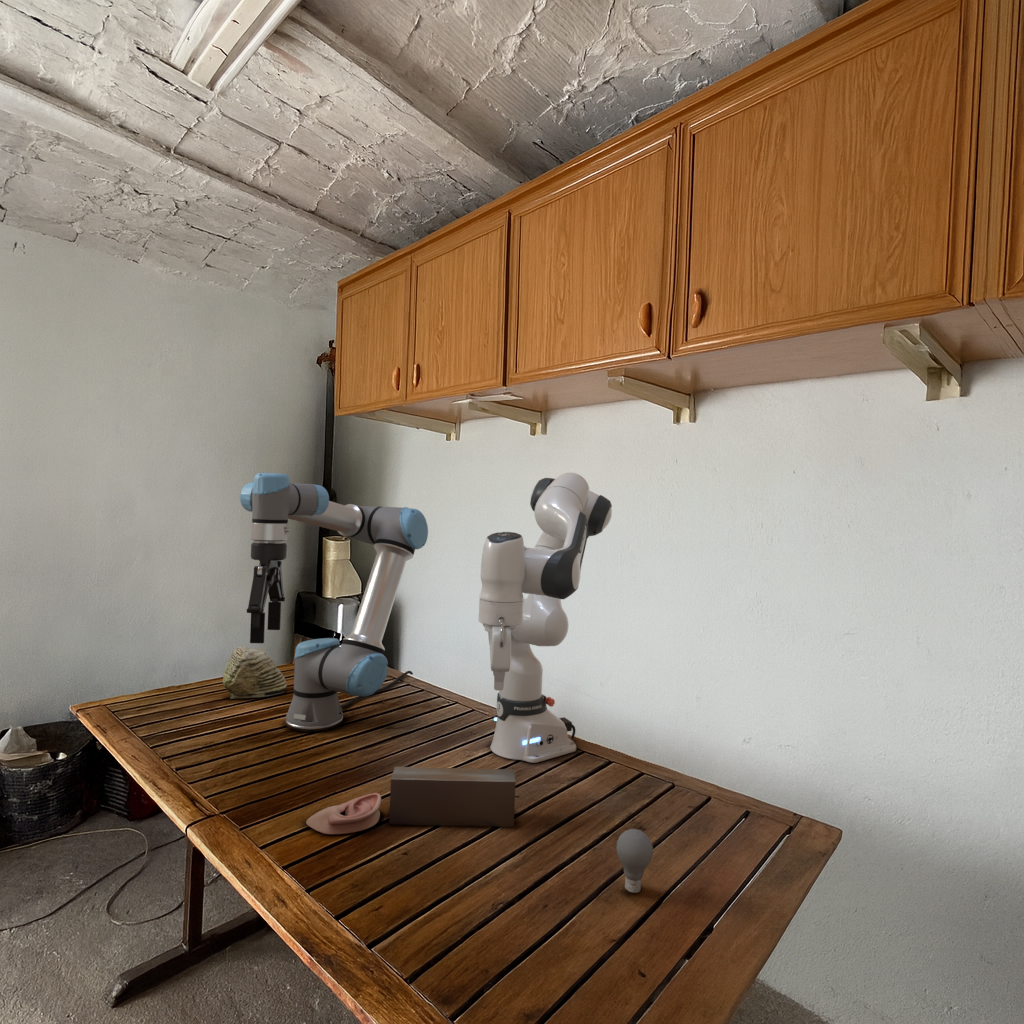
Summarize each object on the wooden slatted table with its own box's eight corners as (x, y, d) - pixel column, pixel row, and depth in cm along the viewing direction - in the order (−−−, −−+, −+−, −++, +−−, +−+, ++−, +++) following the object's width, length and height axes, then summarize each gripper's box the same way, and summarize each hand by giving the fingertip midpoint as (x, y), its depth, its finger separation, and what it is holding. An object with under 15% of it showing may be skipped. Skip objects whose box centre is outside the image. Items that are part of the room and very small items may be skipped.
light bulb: (610, 879, 108) (613, 822, 108) (644, 879, 109) (647, 822, 109) (619, 902, 102) (622, 840, 102) (655, 901, 103) (658, 840, 103)
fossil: (218, 695, 195) (220, 647, 195) (278, 685, 208) (279, 640, 207) (228, 703, 189) (230, 653, 188) (289, 692, 201) (290, 645, 201)
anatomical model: (298, 809, 120) (327, 783, 131) (297, 830, 120) (327, 802, 131) (363, 819, 117) (388, 791, 128) (362, 840, 117) (387, 811, 128)
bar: (388, 824, 124) (390, 778, 124) (393, 810, 129) (394, 766, 129) (513, 827, 125) (515, 781, 125) (512, 812, 131) (514, 769, 130)
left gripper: (271, 546, 130) (267, 649, 130) (298, 538, 155) (295, 625, 155) (233, 545, 129) (229, 648, 130) (267, 537, 154) (264, 624, 154)
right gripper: (519, 624, 116) (516, 699, 117) (514, 605, 137) (511, 669, 137) (485, 623, 116) (482, 698, 116) (484, 604, 137) (482, 668, 137)
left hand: (265, 636), depth 142 cm, fingers open, 13 cm apart
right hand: (497, 682), depth 127 cm, fingers open, 8 cm apart
